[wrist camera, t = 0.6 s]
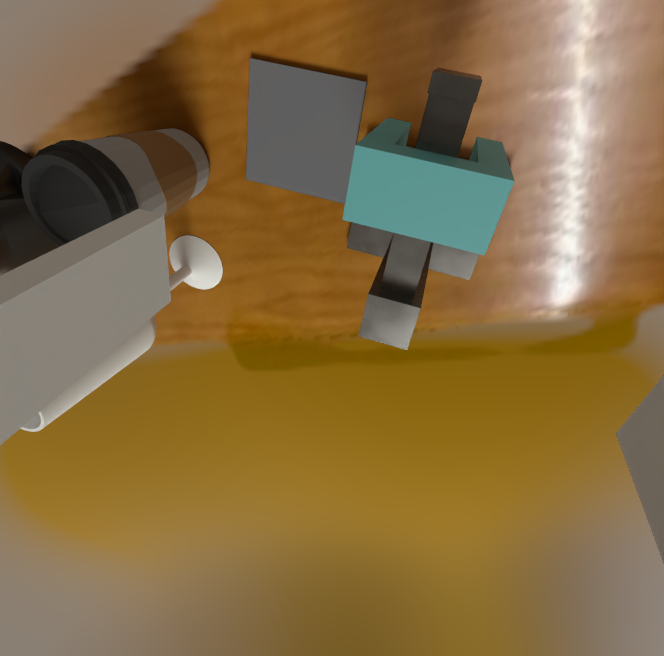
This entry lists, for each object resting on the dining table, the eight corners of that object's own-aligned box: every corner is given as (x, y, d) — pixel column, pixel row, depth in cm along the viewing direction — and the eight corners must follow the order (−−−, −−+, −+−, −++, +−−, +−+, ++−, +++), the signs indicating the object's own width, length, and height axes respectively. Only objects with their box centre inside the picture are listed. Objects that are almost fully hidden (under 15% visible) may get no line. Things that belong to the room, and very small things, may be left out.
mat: (247, 178, 41) (246, 179, 41) (251, 58, 35) (250, 58, 35) (346, 202, 40) (345, 203, 40) (367, 81, 34) (366, 82, 34)
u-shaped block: (375, 175, 28) (342, 219, 21) (387, 117, 26) (355, 145, 19) (481, 200, 27) (484, 255, 20) (502, 142, 25) (514, 180, 18)
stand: (349, 244, 42) (284, 349, 28) (386, 47, 33) (316, 47, 18) (469, 275, 41) (468, 404, 26) (545, 77, 31) (611, 105, 16)
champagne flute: (175, 224, 46) (-37, 350, 27) (229, 253, 47) (57, 400, 27) (164, 272, 50) (-26, 411, 31) (215, 299, 51) (56, 455, 31)
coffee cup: (131, 125, 42) (-8, 158, 30) (202, 106, 39) (81, 134, 27) (165, 209, 46) (56, 267, 34) (232, 197, 43) (139, 257, 31)
